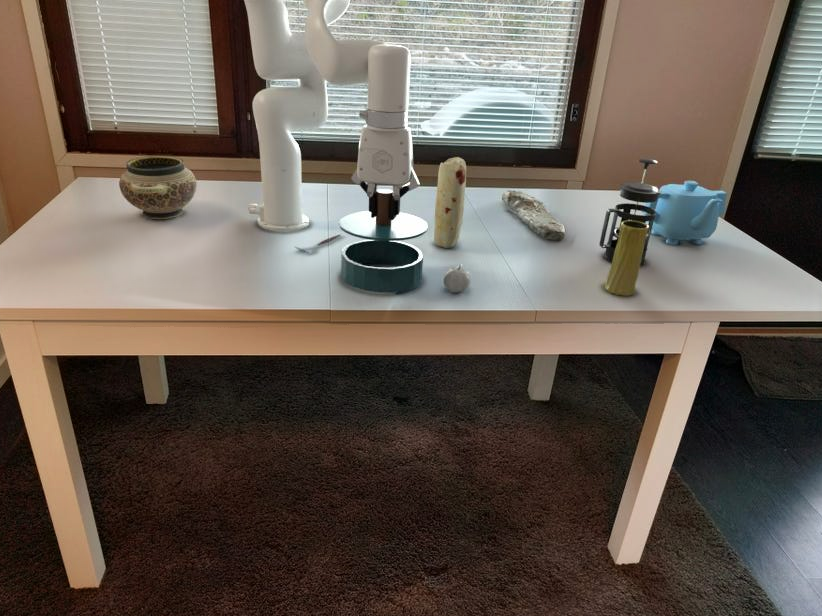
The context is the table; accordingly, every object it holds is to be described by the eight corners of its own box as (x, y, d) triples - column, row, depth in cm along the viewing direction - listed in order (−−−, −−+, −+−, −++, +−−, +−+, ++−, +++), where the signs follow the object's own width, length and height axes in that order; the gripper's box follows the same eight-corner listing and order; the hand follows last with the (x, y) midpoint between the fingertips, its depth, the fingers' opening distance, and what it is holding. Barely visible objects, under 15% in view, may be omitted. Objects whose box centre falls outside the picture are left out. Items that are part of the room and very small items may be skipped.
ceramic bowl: (152, 208, 175) (130, 152, 168) (215, 194, 174) (195, 138, 166) (121, 240, 154) (93, 178, 146) (192, 225, 153) (168, 161, 145)
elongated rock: (535, 246, 160) (572, 248, 162) (540, 226, 157) (577, 228, 159) (492, 197, 188) (524, 199, 190) (496, 179, 185) (528, 181, 188)
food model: (461, 252, 151) (470, 165, 140) (432, 250, 151) (439, 163, 140) (459, 238, 159) (468, 154, 149) (432, 236, 159) (439, 152, 149)
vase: (600, 284, 138) (614, 219, 131) (627, 284, 139) (643, 219, 132) (610, 296, 133) (626, 229, 126) (639, 296, 134) (656, 229, 126)
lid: (327, 237, 123) (327, 198, 120) (352, 212, 138) (353, 176, 135) (418, 248, 121) (421, 208, 117) (433, 221, 136) (436, 184, 132)
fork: (345, 238, 155) (345, 230, 154) (303, 257, 143) (302, 249, 142) (336, 235, 156) (336, 227, 155) (293, 254, 144) (293, 246, 143)
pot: (331, 288, 129) (331, 262, 127) (353, 259, 143) (353, 235, 141) (412, 299, 127) (414, 273, 124) (427, 268, 141) (429, 244, 138)
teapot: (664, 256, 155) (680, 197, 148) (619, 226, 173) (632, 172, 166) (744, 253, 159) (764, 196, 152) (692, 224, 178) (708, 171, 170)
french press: (638, 252, 156) (662, 155, 145) (654, 267, 148) (681, 165, 137) (590, 251, 155) (611, 153, 144) (604, 266, 147) (627, 163, 136)
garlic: (455, 282, 135) (457, 258, 133) (475, 290, 132) (478, 266, 130) (436, 289, 131) (438, 265, 129) (457, 298, 128) (459, 273, 126)
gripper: (338, 119, 117) (338, 218, 126) (427, 127, 115) (421, 227, 124) (349, 112, 124) (349, 207, 133) (434, 120, 121) (428, 216, 130)
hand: (384, 216), depth 128 cm, fingers closed on lid, 3 cm apart
